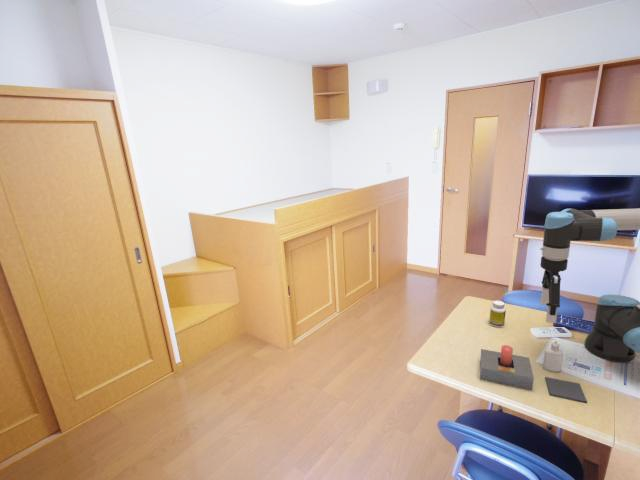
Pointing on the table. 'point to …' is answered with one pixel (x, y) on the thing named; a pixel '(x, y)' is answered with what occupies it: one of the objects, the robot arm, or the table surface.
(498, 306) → the pill bottle
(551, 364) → the eye dropper bottle
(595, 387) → the table surface
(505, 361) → the plunger
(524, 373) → the grey flat block
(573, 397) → the mat
